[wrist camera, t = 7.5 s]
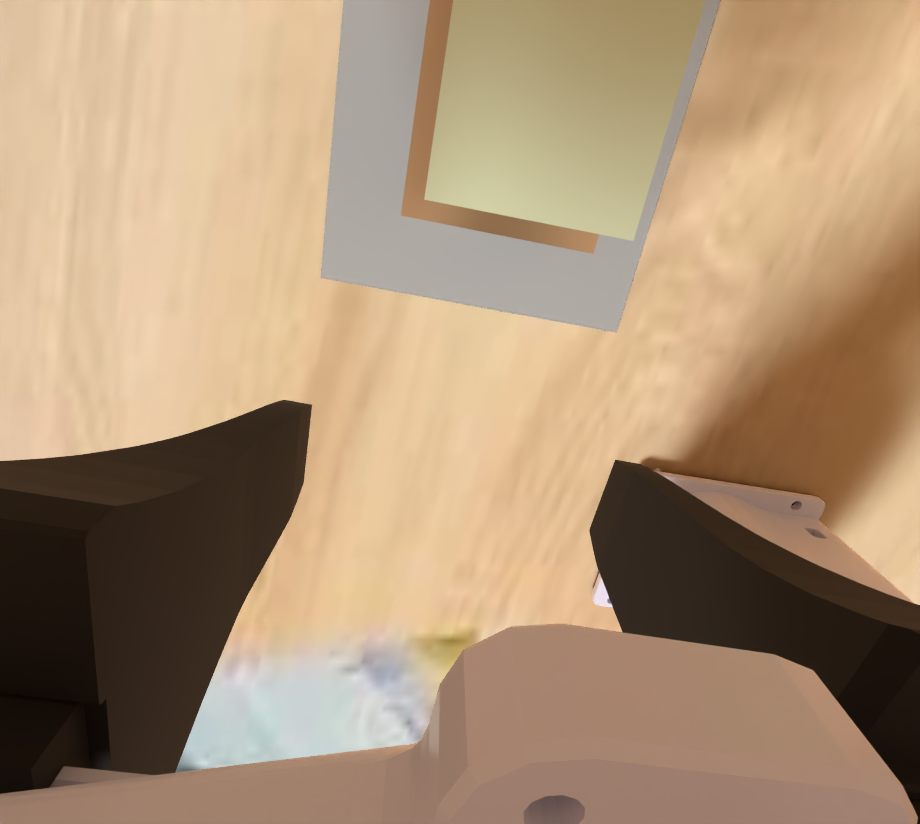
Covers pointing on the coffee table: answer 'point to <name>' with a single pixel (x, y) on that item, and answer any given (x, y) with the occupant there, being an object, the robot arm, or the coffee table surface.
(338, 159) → the build pad
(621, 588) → the robot arm
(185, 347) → the coffee table surface
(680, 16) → the green block
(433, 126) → the walnut block
